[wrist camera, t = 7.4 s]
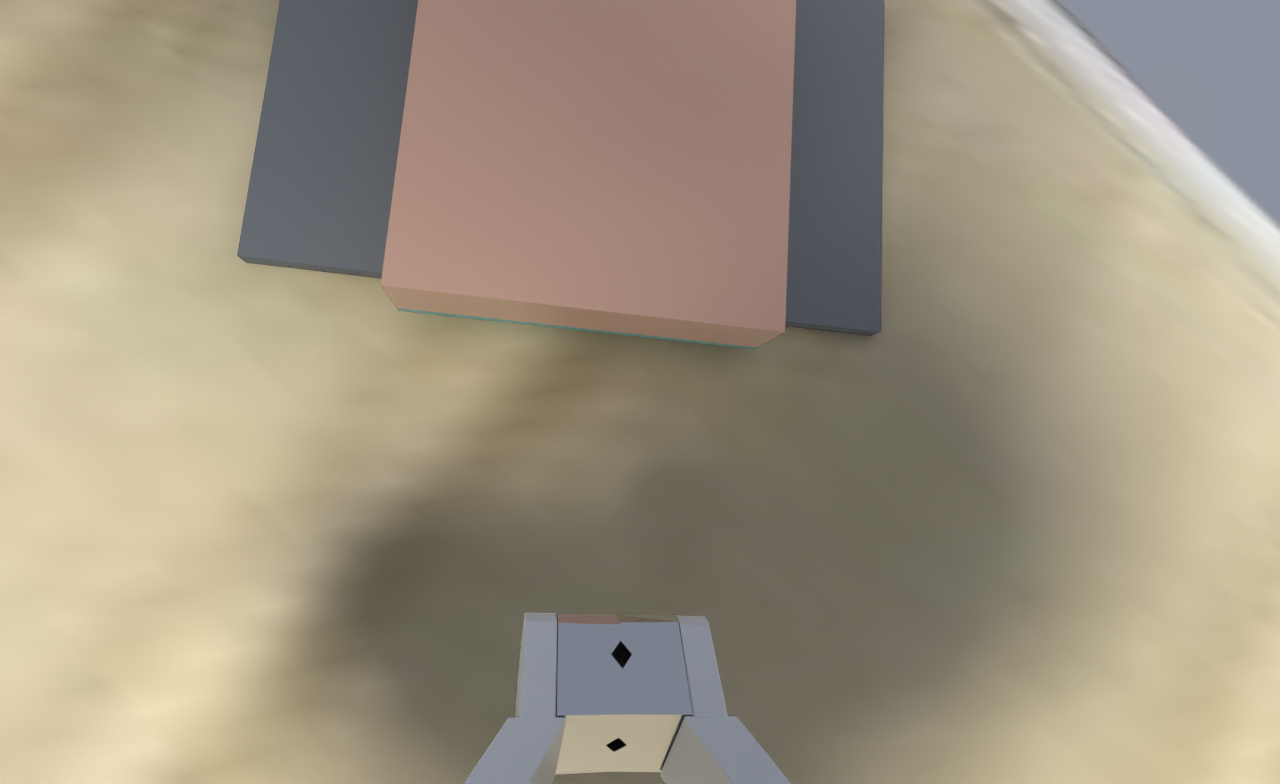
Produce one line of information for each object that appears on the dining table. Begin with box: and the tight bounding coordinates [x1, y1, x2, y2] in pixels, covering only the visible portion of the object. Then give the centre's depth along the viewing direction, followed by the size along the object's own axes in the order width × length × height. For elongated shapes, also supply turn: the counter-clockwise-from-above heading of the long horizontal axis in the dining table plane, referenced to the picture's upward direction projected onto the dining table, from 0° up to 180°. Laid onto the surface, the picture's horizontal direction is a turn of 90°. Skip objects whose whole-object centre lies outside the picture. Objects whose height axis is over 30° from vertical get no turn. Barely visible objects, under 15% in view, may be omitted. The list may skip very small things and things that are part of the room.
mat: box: [237, 0, 884, 336], centre depth 21 cm, size 16×20×1 cm
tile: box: [381, 0, 796, 349], centre depth 19 cm, size 2×11×14 cm
